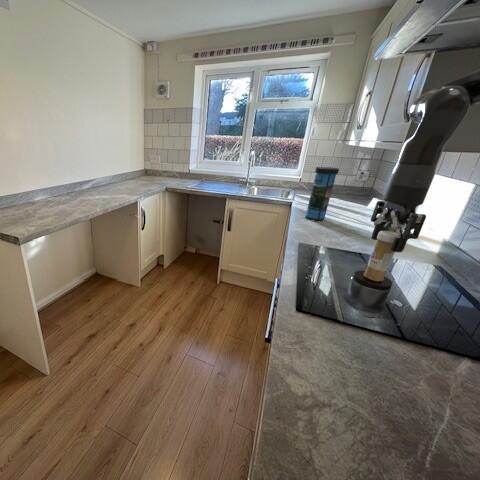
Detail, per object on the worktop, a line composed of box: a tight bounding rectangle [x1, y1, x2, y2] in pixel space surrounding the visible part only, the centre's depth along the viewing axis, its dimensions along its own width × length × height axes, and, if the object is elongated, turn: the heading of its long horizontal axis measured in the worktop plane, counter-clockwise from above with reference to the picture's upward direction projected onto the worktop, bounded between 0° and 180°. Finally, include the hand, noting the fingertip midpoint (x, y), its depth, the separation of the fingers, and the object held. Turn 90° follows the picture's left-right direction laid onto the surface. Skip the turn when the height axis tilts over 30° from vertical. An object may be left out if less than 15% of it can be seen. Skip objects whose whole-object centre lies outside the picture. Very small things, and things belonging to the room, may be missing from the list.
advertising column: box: [304, 166, 340, 222], centre depth 151 cm, size 11×11×30 cm
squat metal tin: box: [343, 270, 393, 319], centre depth 74 cm, size 9×9×10 cm
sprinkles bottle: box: [364, 231, 396, 281], centre depth 70 cm, size 5×5×14 cm
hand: (385, 245), depth 68 cm, fingers open, 7 cm apart
